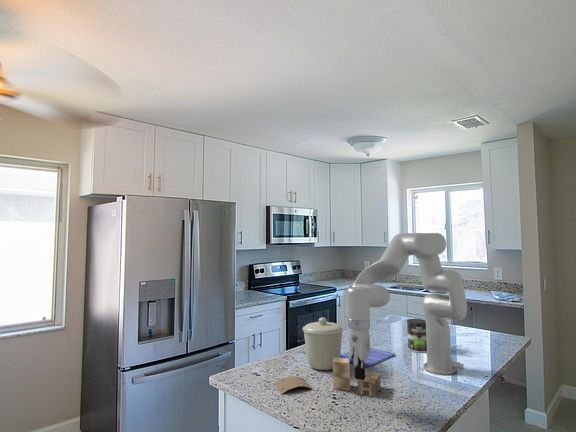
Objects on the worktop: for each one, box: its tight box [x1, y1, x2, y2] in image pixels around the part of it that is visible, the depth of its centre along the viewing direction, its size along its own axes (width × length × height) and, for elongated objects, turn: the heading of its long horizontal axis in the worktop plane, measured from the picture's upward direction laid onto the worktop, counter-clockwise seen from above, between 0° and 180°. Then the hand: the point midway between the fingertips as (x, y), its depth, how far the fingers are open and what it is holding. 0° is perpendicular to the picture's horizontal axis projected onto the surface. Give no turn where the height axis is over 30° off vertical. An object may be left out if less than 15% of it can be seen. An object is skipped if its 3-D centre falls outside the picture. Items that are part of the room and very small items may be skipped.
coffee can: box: [406, 318, 427, 354], centre depth 180 cm, size 10×10×14 cm
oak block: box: [332, 358, 351, 392], centre depth 136 cm, size 6×5×10 cm
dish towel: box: [340, 347, 396, 369], centre depth 169 cm, size 17×24×3 cm
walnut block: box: [357, 370, 381, 398], centre depth 133 cm, size 6×5×10 cm
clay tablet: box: [273, 375, 313, 395], centre depth 137 cm, size 14×10×3 cm
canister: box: [302, 317, 345, 371], centre depth 159 cm, size 18×18×21 cm
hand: (360, 378), depth 122 cm, fingers closed
